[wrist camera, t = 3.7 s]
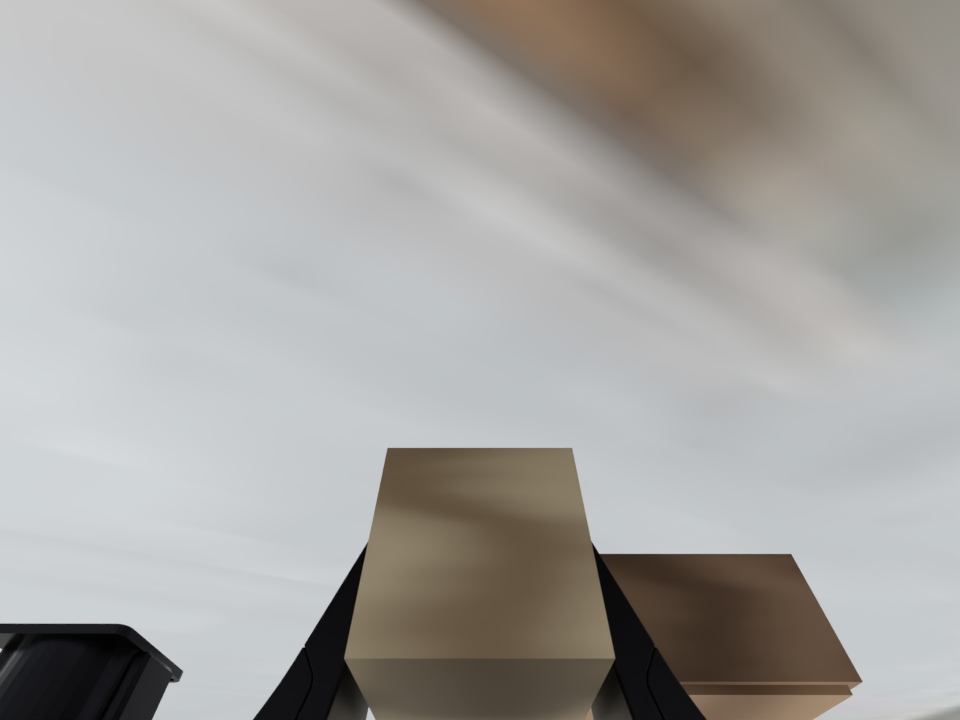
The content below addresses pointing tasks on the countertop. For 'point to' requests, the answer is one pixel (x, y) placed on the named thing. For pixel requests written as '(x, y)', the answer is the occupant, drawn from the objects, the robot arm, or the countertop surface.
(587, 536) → the oak cube
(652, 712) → the robot arm
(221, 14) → the countertop surface
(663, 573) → the walnut box
